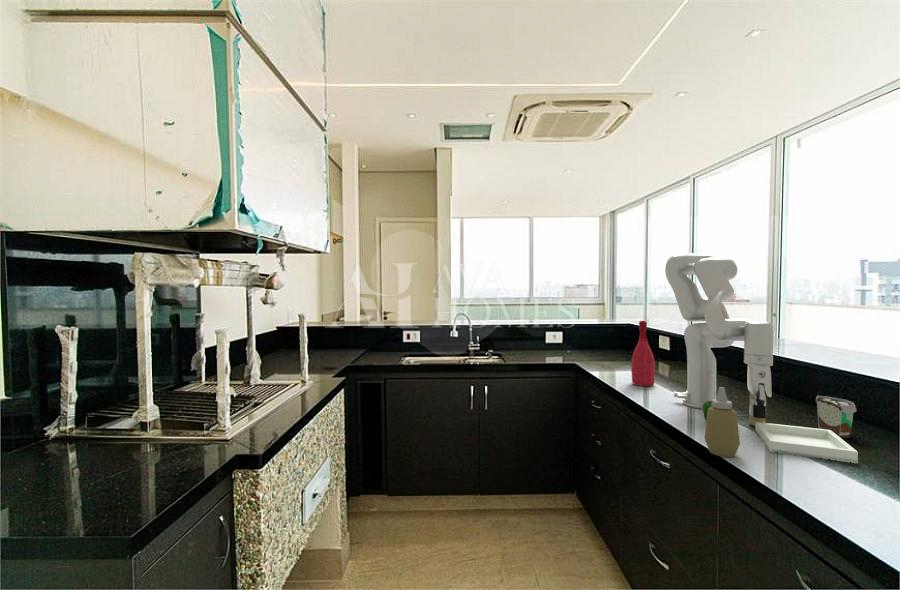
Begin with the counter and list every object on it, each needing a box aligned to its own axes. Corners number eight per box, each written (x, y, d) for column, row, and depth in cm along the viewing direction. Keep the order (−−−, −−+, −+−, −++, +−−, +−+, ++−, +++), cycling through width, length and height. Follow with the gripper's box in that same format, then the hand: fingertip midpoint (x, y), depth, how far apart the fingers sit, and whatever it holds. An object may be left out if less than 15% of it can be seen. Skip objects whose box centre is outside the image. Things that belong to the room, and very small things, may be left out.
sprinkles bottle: (753, 421, 137) (753, 381, 137) (768, 425, 133) (769, 384, 133) (745, 424, 135) (746, 383, 134) (761, 428, 131) (762, 386, 130)
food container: (868, 440, 120) (868, 406, 120) (843, 439, 121) (843, 405, 121) (837, 427, 132) (837, 396, 132) (815, 426, 133) (815, 395, 133)
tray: (770, 451, 113) (770, 440, 113) (755, 431, 129) (755, 421, 129) (857, 463, 105) (857, 451, 105) (830, 440, 121) (830, 430, 121)
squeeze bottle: (697, 448, 116) (697, 384, 115) (724, 447, 116) (724, 383, 116) (718, 460, 107) (718, 391, 107) (747, 459, 108) (747, 390, 108)
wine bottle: (658, 386, 189) (658, 321, 188) (637, 386, 189) (636, 321, 189) (648, 382, 199) (648, 320, 198) (628, 382, 199) (627, 320, 198)
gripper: (779, 365, 124) (778, 425, 125) (766, 356, 139) (765, 409, 140) (749, 363, 128) (748, 421, 128) (739, 354, 143) (738, 406, 143)
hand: (757, 414), depth 134 cm, fingers closed on sprinkles bottle, 4 cm apart
